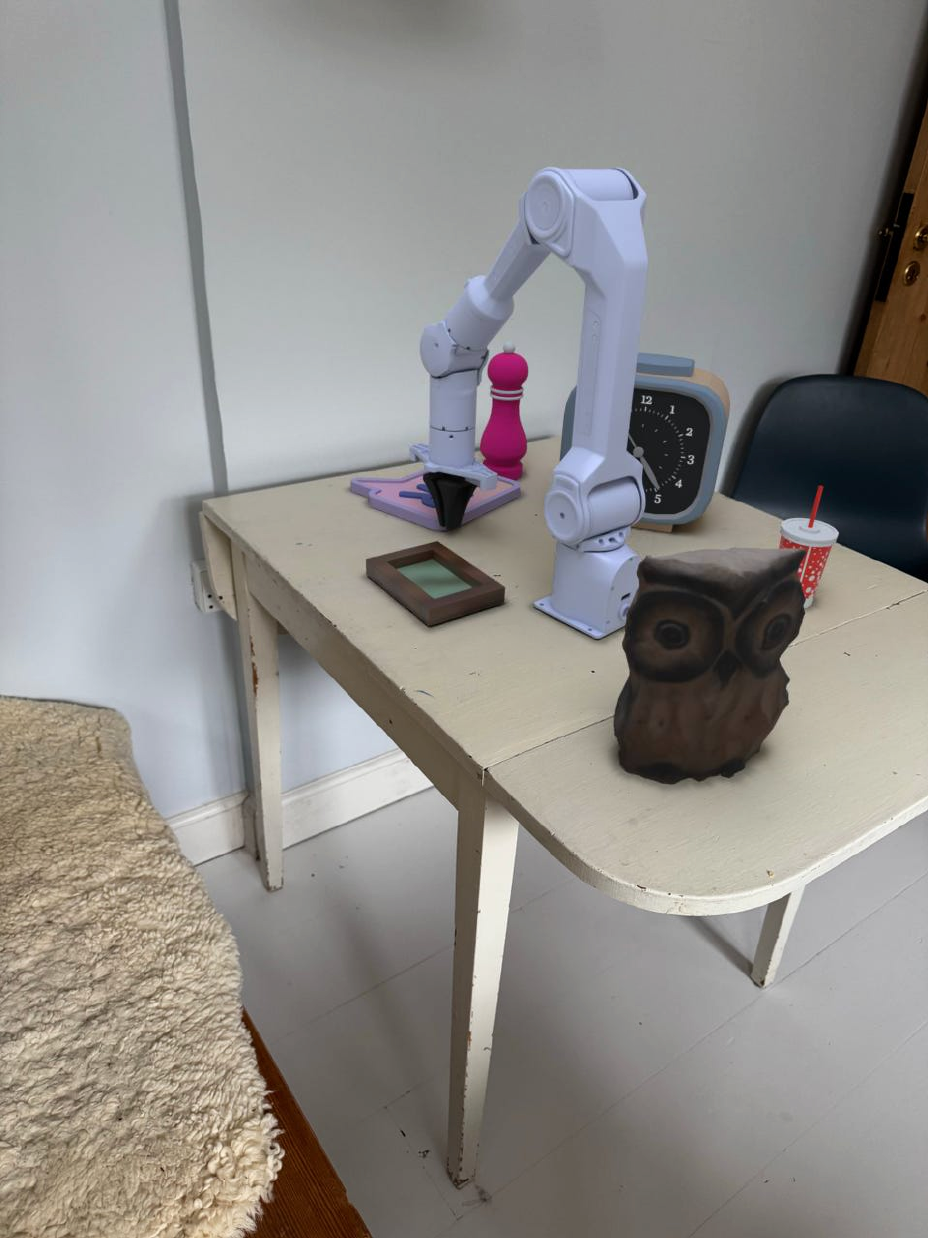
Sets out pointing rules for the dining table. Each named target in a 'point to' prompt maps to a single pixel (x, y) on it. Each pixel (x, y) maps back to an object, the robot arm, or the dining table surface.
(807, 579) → the beverage cup
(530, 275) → the robot arm
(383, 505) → the icon
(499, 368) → the pepper mill
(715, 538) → the dining table surface
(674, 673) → the owl
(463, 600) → the frame
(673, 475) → the alarm clock
